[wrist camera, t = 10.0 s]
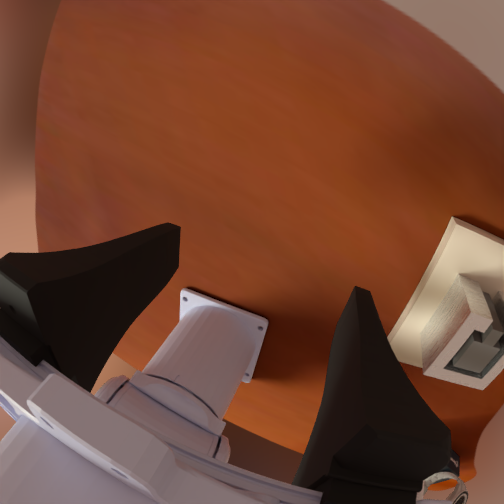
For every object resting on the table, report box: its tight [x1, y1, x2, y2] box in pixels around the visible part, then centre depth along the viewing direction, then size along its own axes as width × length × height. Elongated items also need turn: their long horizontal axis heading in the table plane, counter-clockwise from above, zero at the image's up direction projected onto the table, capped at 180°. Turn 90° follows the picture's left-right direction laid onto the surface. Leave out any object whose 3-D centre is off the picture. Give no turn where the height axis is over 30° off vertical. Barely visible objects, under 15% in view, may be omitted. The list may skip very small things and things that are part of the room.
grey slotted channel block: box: [420, 273, 504, 390], centre depth 17 cm, size 6×6×4 cm
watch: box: [423, 449, 468, 504], centre depth 25 cm, size 6×8×11 cm
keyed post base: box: [387, 216, 504, 373], centre depth 18 cm, size 12×9×5 cm
